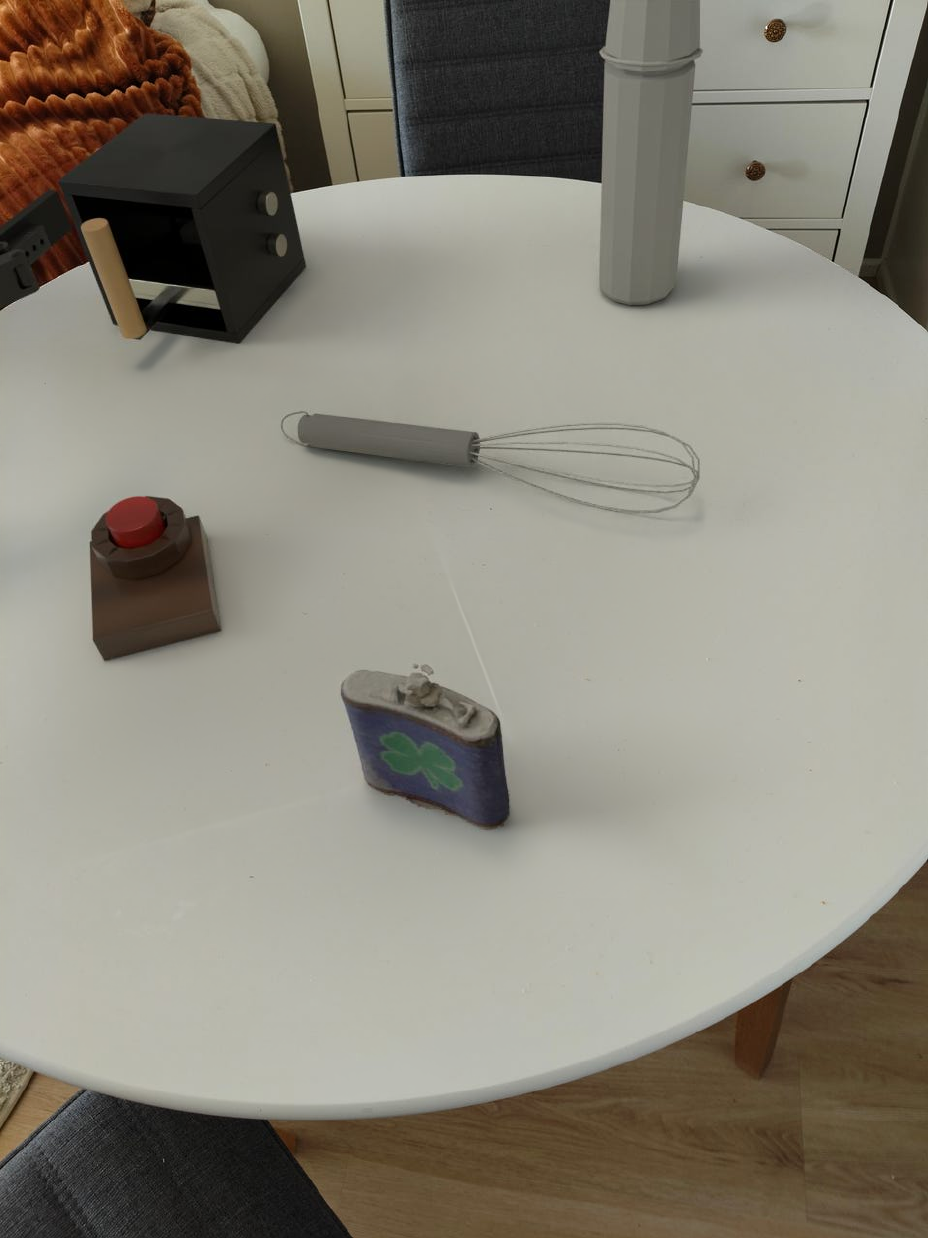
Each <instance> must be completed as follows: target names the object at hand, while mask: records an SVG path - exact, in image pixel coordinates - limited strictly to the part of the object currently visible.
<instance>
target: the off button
mask: <svg viewBox="0 0 928 1238" xmlns="http://www.w3.org/2000/svg"><path fill="white" fill-rule="evenodd" d="M107 512H108V513H107V515H106V524H107V526H108V528H109V530H110V532H111V534H112V536H113V539H114V541H115V542H116V544H117V545H119V546H120V547H122V548H127V549H134V548H138V547H142V546H146V545H149V544H150V543H152V542H153V541H155V540H157V539H158V538H160V537H161V536H162V534H163V532H164V529H165V523H164V521H163V518H162V516H161V514H160V511H159V509H158V506H157V504H156V503H155V502H154V501H153V500H152V499H150V498H147V497H145V496H143V495H139V496H138V495H137V496H130V497H127V498H124V499H122V500H120V501H118V502H116V503H115V504H113V506H111V507H110V508H109V510H107Z"/></svg>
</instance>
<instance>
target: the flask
mask: <svg viewBox="0 0 928 1238" xmlns="http://www.w3.org/2000/svg"><path fill="white" fill-rule="evenodd" d="M419 667H420V670H421V672H411V673H410V674H409V676H407V675H402V674H394V673H389V672H384V671H379V670H368V669H359V670H355V671H354V672H353V673H351V674H349V675H348V676H347V677H346V678H345V679H343V680H342V682H341V684H340V697H341V700H342V702H343V705H344V707H345V710H346V714H347V717H348V720H349V724H350V728H351V730H352V734H353V739H354V742H355V745H356V749H357V753H358V757H359V760H360V761H359V762H360V765H361V770H362V773H363V774H362V775H363V777H364V780H365V782H366V784H367V785H369V786H370V787H372V788H373V789H374V790H375V791H377V792H380V793H382V794H383V795H387V796H390V797H391V795H395V796H398V797H400V798H401V799H402V798H403V799H406V801H409V802H410V803H411V804H414V805H417V808H421V807H422V808H424V809H440V810H442V811H444V814H445V816H448V815H449V816H451V815H452V816H456V817H459V818H460V819H461V820H463V823H469V824H472V825H473V826H476V827H478V828H480V829H482V830H492V829H496V828H499V827H505V822H506V821H507V820H508V818H509V816H510V809H511V808H510V791H509V785H508V781H507V774H506V766H505V757H504V756H505V755H504V746H503V745H504V743H503V734H502V727H501V721H500V719H499V716H498V715H497V714H496V713H495V712H494V711H493V710H492V709H490V708H488V707H486V706H485V705H482V704H481V703H478V702H476V701H475V700H473V699H471V698H469V697H468V696H466V695H463V694H462V693H459V692H458V691H455V690H453V689H450V688H447V687H445V686H442V685H440V684H439V683H436V682H431V681H430V680H429V677H428V676H431V675H434V673H435V672H434V669H433V668H432V667H431V666H430V665H429V664H425V663H424V664H421V665H420V666H419V665H418V664H413V665H412V668H413V669H419ZM422 672H424V673H426V674H427V675H428V676H427V675H425V674H424V675H423V673H422Z"/></svg>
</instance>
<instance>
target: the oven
mask: <svg viewBox="0 0 928 1238" xmlns="http://www.w3.org/2000/svg"><path fill="white" fill-rule="evenodd" d="M57 183H58V186H59V188H60V191H61V193H62V196H63V199H64V202H65V204H66V207H67V209H68V212H69V214H70V217H71V220H72V222H73V225H74V227H75V230H76V233H77V235H78V238H79V240H80V243H81V246H82V249H83V251H84V253H85V256H86V258H87V261H88V263H89V266H90V268H91V271H92V274H93V276H94V279H95V281H96V284H97V286H98V289H99V291H100V294H101V296H102V300H103V302H104V305H105V307H106V309H107V312H108V315H109V317H110V320H111V322H112V324H113V325H115V326H116V325H117V326H118V323H117V321H116V318H115V316H114V313H113V310H112V308H111V305H110V303H109V300H108V298H107V295H106V292H105V290H104V287H103V285H102V282H101V279H100V277H99V274H98V272H97V269H96V266H95V264H94V261H93V259H92V256H91V253H90V251H89V248H88V246H87V243H86V240H85V238H84V235H83V233H82V230H81V225H82V224H83V223H84V222H86V221H88V220H91V219H96V218H103V219H106V220H107V221H108V223H109V226H110V229H111V232H112V235H113V237H114V240H115V243H116V246H117V248H118V251H119V254H120V257H121V259H122V262H123V265H124V268H125V270H126V273H127V276H131V275H132V274H133V273H134V272H135V271H136V270H137V269H138V268H139V267H140V266H141V265H143V264H144V263H145V262H146V261H147V260H148V259H149V258H150V257H151V256H152V255H153V254H154V253H155V252H156V251H157V250H159V249H160V248H161V247H162V246H163V245H164V244H165V243H166V242H167V241H168V240H169V239H170V238H171V237H172V236H174V235H175V234H176V233H177V232H178V231H179V229H178V226H177V222H176V219H175V218H176V217H177V216H178V215H180V216H189V217H194V220H195V223H196V227H197V230H198V234H199V237H200V240H201V244H202V247H203V251H204V254H205V257H206V261H207V264H208V268H209V271H210V274H211V278H212V281H213V285H214V288H215V291H216V295H217V298H218V302H219V305H220V308H221V309H213V308H206V307H199V306H192V305H185V304H178V303H175V305H174V306H173V307H172V308H171V309H170V310H169V311H168V312H167V313H166V314H165V315H164V316H163V317H162V318H161V320H160V321H159V322H158V323H157V324H156V325H155V326H154V327H153V328H152V329H151V330H150V331H155V332H163V333H167V334H168V333H169V334H175V335H181V336H187V337H188V336H189V337H193V338H194V337H195V338H200V339H201V338H202V339H209V340H215V341H221V342H228V343H235V344H240V343H241V342H242V341H243V340H244V339H245V338H246V336H247V335H248V334H249V333H250V332H251V331H252V329H253V328H255V326H256V325H257V324H258V323H259V322H260V320H261V319H262V318H263V317H264V316H265V315H266V314H267V312H268V311H269V310H270V309H271V308H272V306H273V305H274V304H275V303H276V302H277V301H278V300H279V299H280V297H281V296H282V295H283V294H284V293H285V292H286V291H287V290H288V289H289V287H290V286H291V285H292V284H293V282H295V280H296V279H297V278H298V277H299V276H300V274H301V273H302V272H304V270H305V269H306V268H307V263H306V259H305V254H304V250H303V249H304V248H303V243H302V239H301V235H300V230H299V226H298V221H297V217H296V213H295V212H296V211H295V209H294V208H295V207H294V202H293V198H292V194H291V188H290V184H289V178H288V175H287V170H286V165H285V161H284V156H283V151H282V146H281V142H280V138H279V133H278V128H277V124H276V123H275V122H265V121H264V122H263V121H262V122H261V121H249V120H237V119H223V118H210V117H199V116H186V115H185V116H184V115H172V114H161V113H160V114H159V113H147V112H145V113H144V114H142V115H141V116H140V117H139V118H137V119H136V120H134V121H133V122H132V123H130V124H129V125H128V126H127V127H125V128H124V129H123V130H122V131H121V132H119V133H118V134H116V135H115V136H114V137H112V138H111V139H110V140H109V141H107V142H106V143H105V144H103V145H102V146H101V147H99V148H98V149H96V150H95V151H94V152H92V154H90V155H88V156H87V158H85V159H84V160H82V161H81V162H80V163H78V164H77V165H76V166H75V167H73V168H72V169H71V170H70V171H68V172H67V173H65V174H64V175H62V176H61V177H60V178H59V179H58V180H57ZM136 301H137V303H138V306H139V309H140V312H142V311H143V310H144V309H145V308H146V307H147V306H148V305H149V304H150V303H151V302H152V301H153V300H149V299H142V298H136Z"/></svg>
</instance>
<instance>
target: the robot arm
mask: <svg viewBox="0 0 928 1238" xmlns="http://www.w3.org/2000/svg"><path fill="white" fill-rule="evenodd" d="M72 230H73V226H72V224H71V220H70V218H69V216H68V213H67V210H66V208H65V206H64V203H63V201H62V198H61V195H60V193H59V190H57V189H47V190H46V191H44V192H43V193H42V194H41V195H39V196H38V197H37V198H36V199H34V200H33V201H32V202H31V203H29V204H28V205H26V206H25V207H24V208H23V209H21V210H20V211H19V212H18V213H16V214H15V215H14V216H12V217H11V218H10V219H8V220H7V221H6V222H4V223H3V224H2V225H1V226H0V309H2V308H5V307H7V306H9V305H10V304H13V303H15V302H18V301H20V300H22V299H24V298H26V297H27V296H30V295H32V294H34V293H37V292H38V291H39V290H40V288H41V286H40V284H39V282H38V279H37V277H36V274H35V273H34V270H33V268H32V266H31V265H32V264H33V263H34V262H36V261H37V260H38V259H39V258H40V257H42V256H44V254H45V253H47V252H48V251H49V250H50V249H51V248H52V247H53V246H54V245H55V244H57V243H58V242H59V241H60V240H62V239H63V237H65V236H66V235H68V234H69V233H70V232H71V231H72Z"/></svg>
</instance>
